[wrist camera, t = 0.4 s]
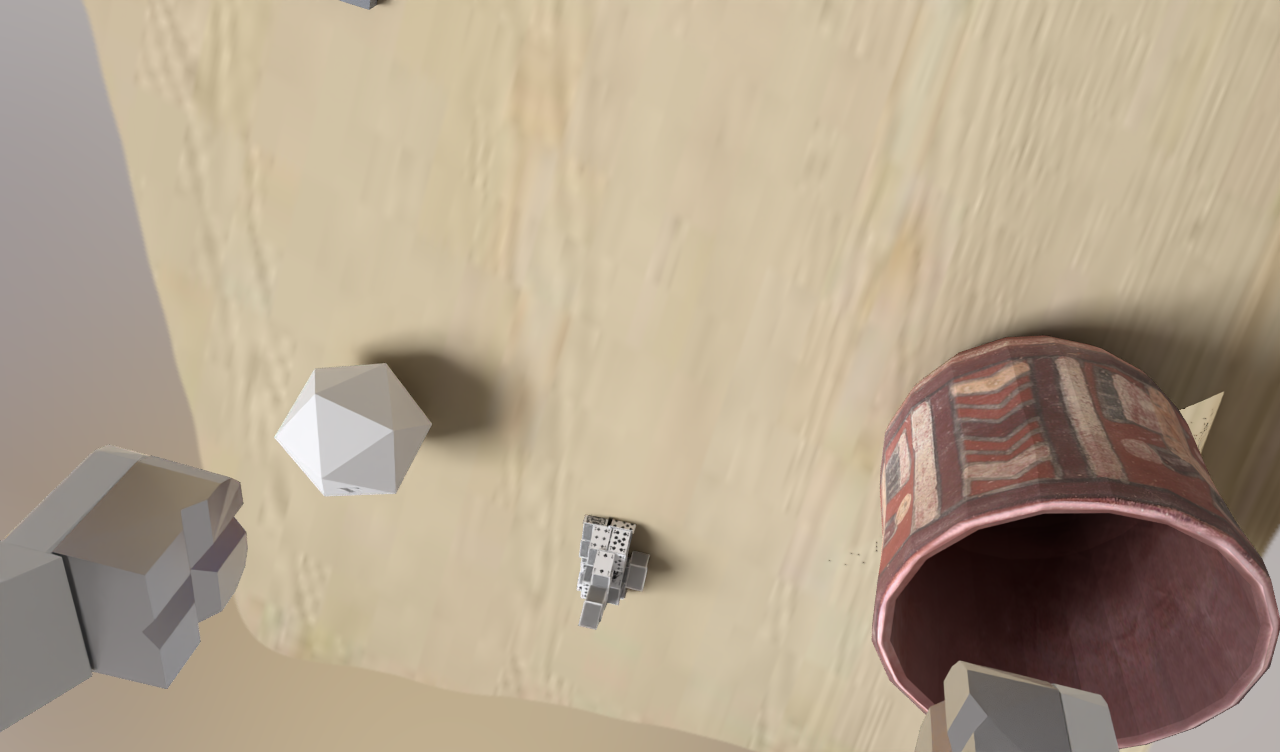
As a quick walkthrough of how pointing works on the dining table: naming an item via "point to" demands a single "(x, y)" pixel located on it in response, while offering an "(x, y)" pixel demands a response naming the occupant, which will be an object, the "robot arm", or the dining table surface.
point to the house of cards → (607, 567)
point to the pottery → (1065, 541)
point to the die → (354, 430)
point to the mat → (362, 3)
